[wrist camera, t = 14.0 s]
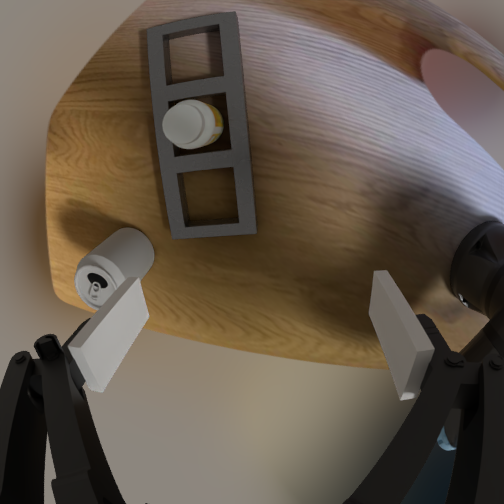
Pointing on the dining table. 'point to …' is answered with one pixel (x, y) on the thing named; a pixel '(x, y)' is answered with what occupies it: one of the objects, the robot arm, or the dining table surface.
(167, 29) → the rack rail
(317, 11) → the dining table surface
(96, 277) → the can
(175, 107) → the supplement bottle
